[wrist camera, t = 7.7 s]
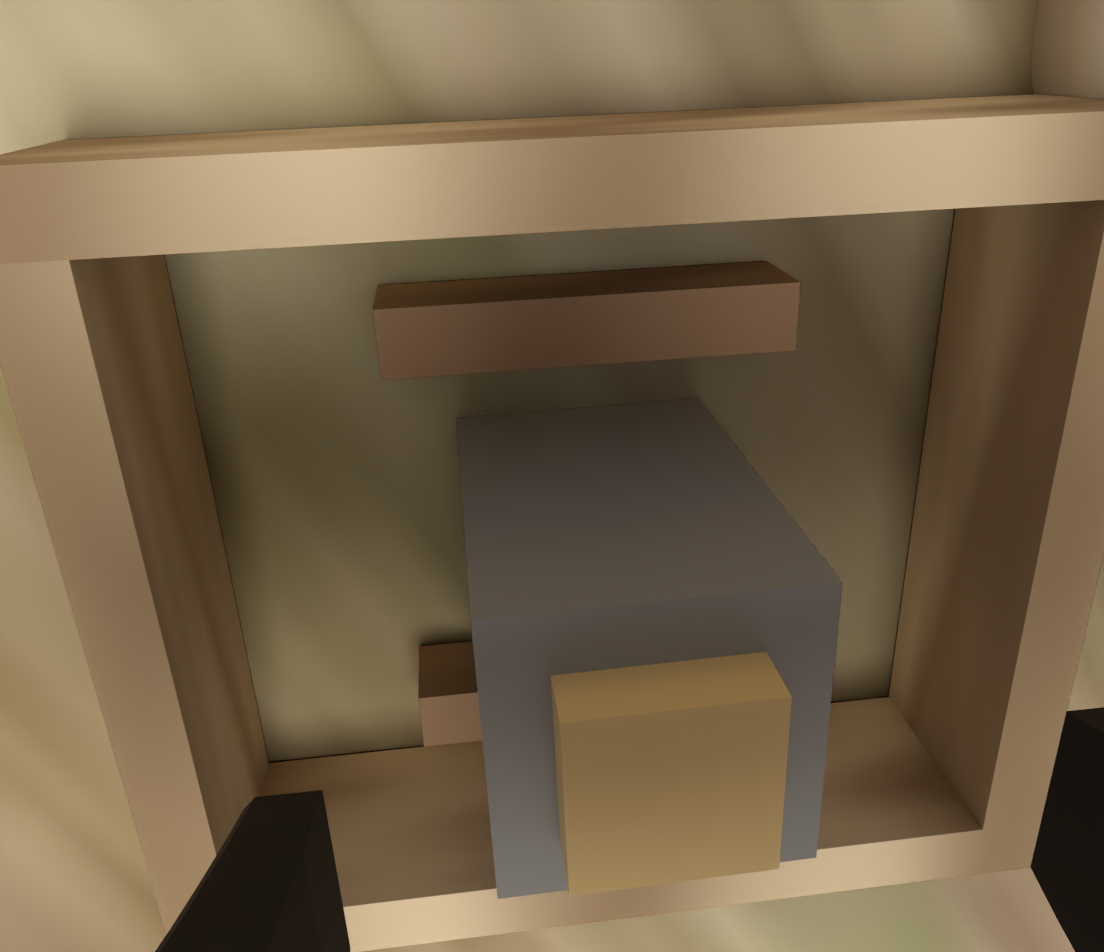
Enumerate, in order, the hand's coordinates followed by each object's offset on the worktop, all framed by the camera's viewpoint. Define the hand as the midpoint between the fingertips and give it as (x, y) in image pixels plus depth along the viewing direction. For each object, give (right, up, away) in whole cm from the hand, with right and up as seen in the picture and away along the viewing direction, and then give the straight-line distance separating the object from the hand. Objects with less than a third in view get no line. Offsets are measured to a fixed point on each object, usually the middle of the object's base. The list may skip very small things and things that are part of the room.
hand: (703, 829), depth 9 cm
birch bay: (-1, +3, +7) cm, 8 cm away
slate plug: (-1, +3, +7) cm, 8 cm away
